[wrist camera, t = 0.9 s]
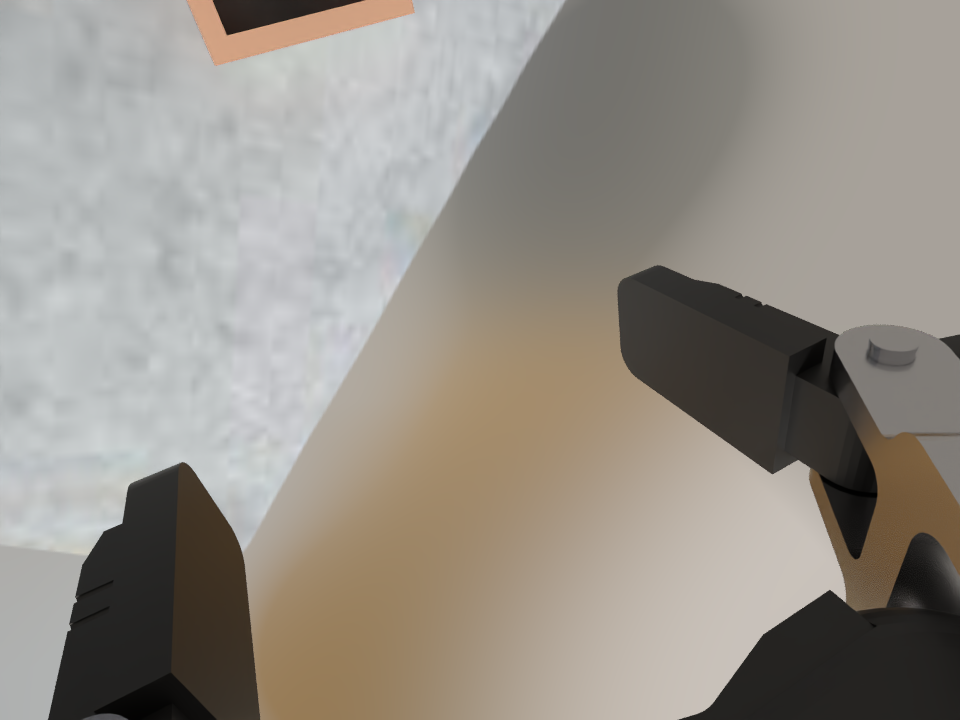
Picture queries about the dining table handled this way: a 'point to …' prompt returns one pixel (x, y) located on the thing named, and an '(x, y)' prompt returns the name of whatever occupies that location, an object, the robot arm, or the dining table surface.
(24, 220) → the dining table surface
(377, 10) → the orange square frame
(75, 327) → the dining table surface
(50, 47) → the dining table surface
